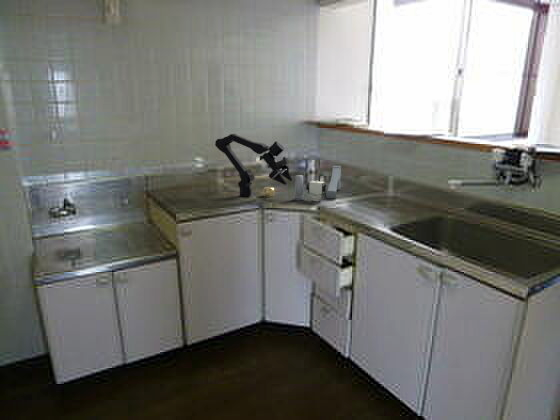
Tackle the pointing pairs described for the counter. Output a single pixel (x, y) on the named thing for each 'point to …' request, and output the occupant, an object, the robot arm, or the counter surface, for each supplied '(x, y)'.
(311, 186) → the pneumatic valve
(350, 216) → the counter surface
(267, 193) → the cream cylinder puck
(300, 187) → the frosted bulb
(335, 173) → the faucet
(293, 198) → the dark grey metal disc
